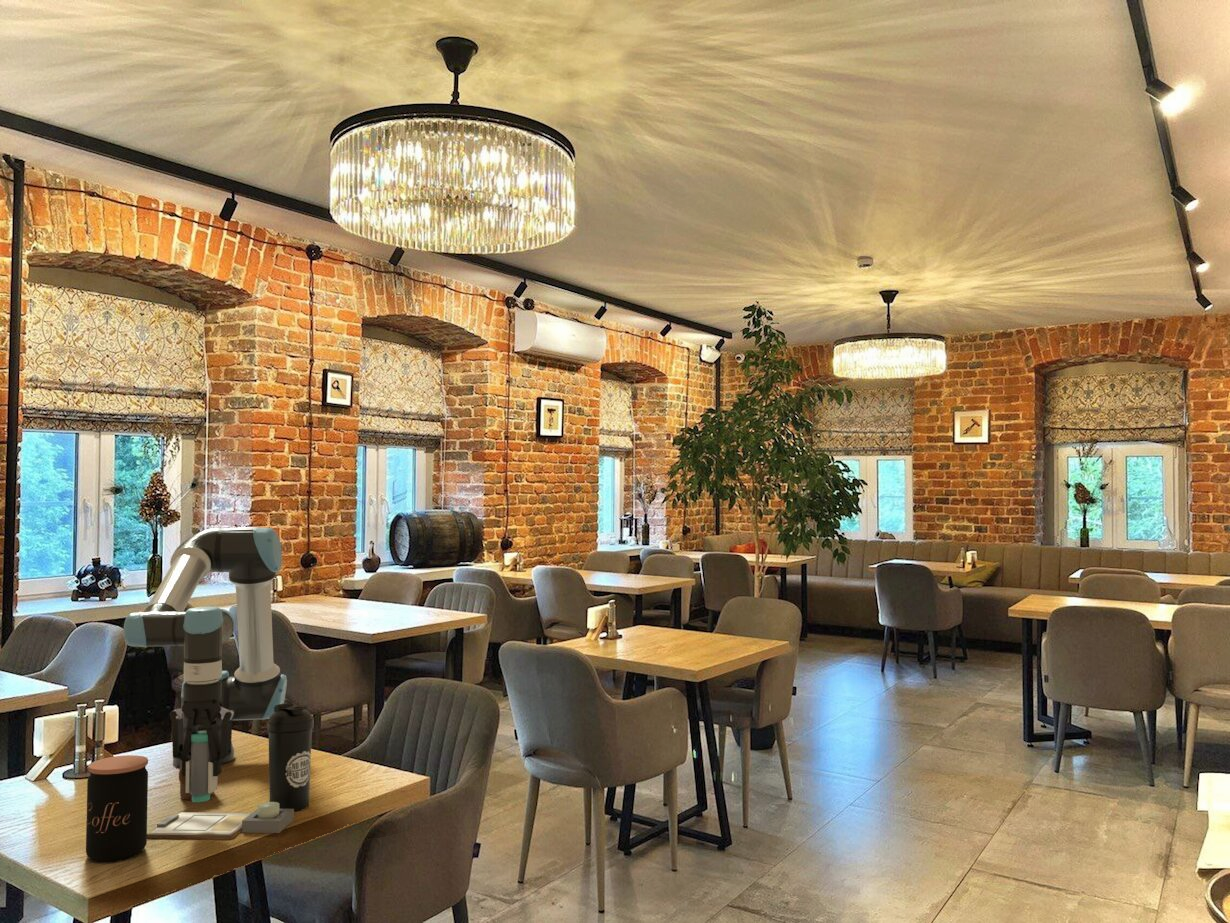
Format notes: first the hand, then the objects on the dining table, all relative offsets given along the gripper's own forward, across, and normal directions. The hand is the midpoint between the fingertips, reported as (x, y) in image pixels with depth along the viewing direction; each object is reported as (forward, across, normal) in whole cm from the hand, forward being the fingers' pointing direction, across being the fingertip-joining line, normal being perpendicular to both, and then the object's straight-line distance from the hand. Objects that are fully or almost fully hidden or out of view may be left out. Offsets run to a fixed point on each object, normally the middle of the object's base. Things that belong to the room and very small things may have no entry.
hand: (201, 790), depth 201 cm
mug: (+9, -12, +21) cm, 26 cm away
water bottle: (+9, +13, +16) cm, 22 cm away
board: (+8, 0, +2) cm, 9 cm away
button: (+7, +13, +3) cm, 15 cm away
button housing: (+8, +13, +3) cm, 16 cm away
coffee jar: (+8, -10, -14) cm, 19 cm away
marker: (+2, 0, 0) cm, 2 cm away
